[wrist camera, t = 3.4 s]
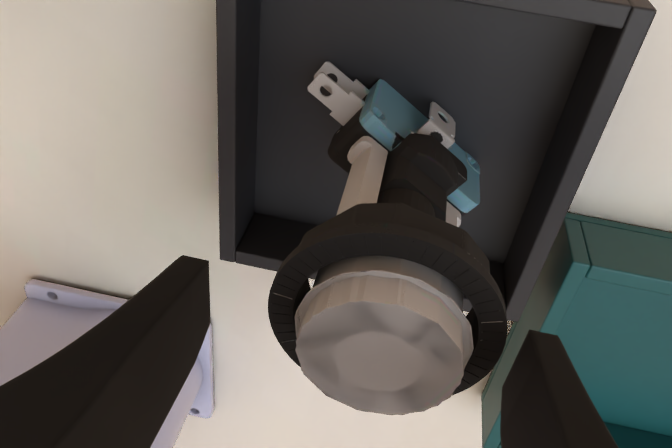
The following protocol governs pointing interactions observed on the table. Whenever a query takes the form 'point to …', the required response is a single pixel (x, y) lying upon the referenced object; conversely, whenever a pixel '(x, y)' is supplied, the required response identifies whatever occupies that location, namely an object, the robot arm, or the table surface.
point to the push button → (391, 262)
